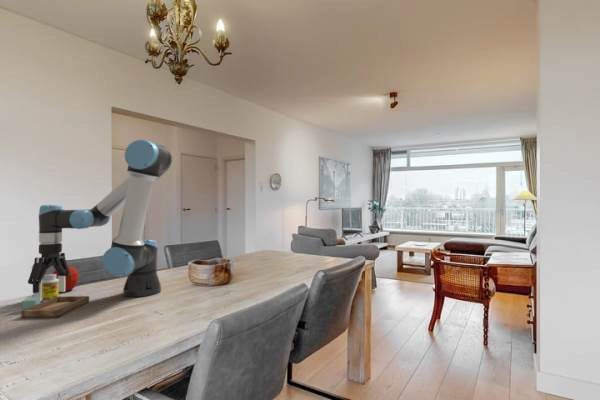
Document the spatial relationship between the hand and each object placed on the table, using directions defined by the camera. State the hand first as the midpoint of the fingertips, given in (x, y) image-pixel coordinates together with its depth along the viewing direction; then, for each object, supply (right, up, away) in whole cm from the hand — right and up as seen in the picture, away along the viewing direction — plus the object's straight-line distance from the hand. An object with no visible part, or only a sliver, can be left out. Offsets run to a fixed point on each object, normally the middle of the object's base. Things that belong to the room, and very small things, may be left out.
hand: (50, 296), depth 136 cm
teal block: (+2, -2, -12) cm, 13 cm away
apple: (-4, -2, +15) cm, 16 cm away
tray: (+12, -2, -12) cm, 17 cm away
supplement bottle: (0, -2, 0) cm, 2 cm away
